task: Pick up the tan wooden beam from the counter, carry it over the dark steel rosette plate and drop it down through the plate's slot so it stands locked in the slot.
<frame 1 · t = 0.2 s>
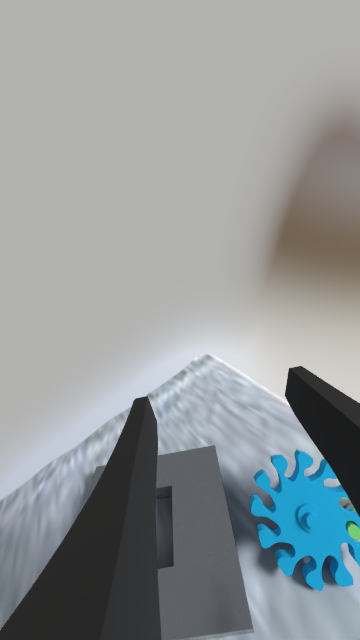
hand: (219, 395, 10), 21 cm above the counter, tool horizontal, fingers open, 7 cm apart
gear: (309, 528, 20), on the counter
rosette plate: (157, 532, 22), on the counter
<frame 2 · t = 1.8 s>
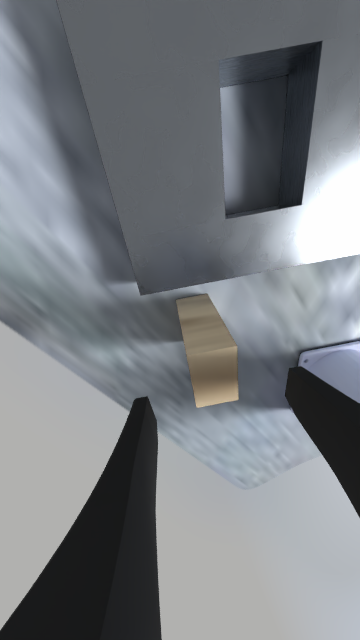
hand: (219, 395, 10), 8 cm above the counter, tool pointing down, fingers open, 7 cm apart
tan wooden beam: (194, 318, 17), on the counter
rosette plate: (246, 155, 12), on the counter
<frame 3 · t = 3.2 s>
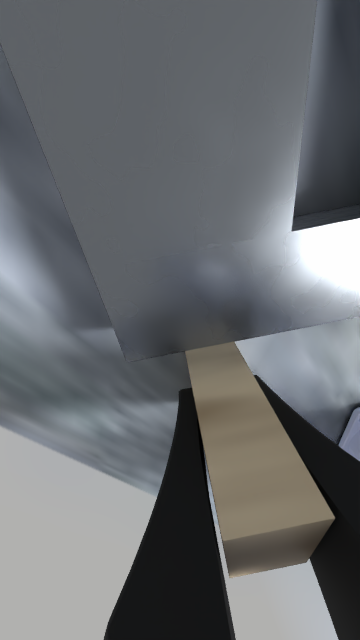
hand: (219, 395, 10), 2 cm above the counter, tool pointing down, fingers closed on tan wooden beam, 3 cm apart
tan wooden beam: (211, 372, 12), on the counter, touching gripper
rosette plate: (324, 108, 6), on the counter
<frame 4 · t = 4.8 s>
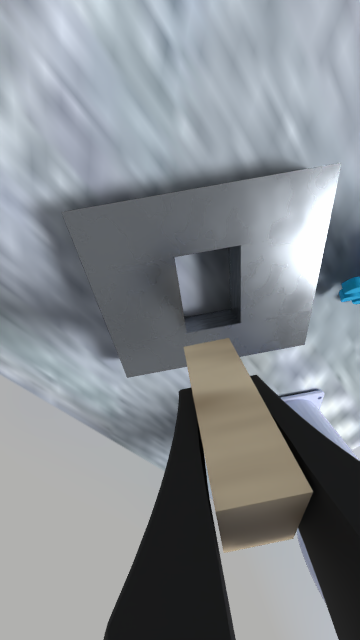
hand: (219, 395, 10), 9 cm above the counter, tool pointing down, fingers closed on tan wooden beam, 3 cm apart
tan wooden beam: (209, 369, 12), point 7 cm above the counter, touching gripper
rosette plate: (204, 282, 17), on the counter
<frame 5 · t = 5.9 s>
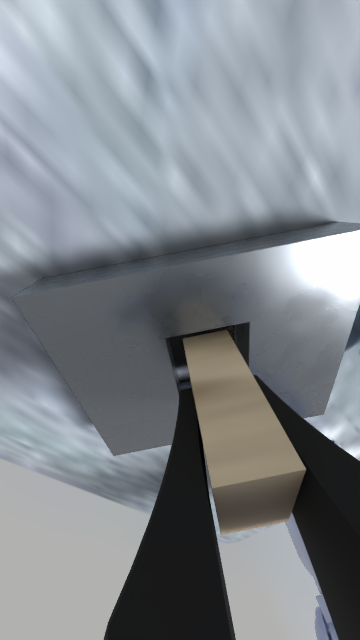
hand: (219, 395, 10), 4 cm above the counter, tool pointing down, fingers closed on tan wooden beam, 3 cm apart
tan wooden beam: (208, 361, 12), point 2 cm above the counter, touching gripper
rosette plate: (203, 346, 14), on the counter
when the fingers open (3 cm above the counter, at t = 6.8 s): tan wooden beam stays where it is, resting in rosette plate.
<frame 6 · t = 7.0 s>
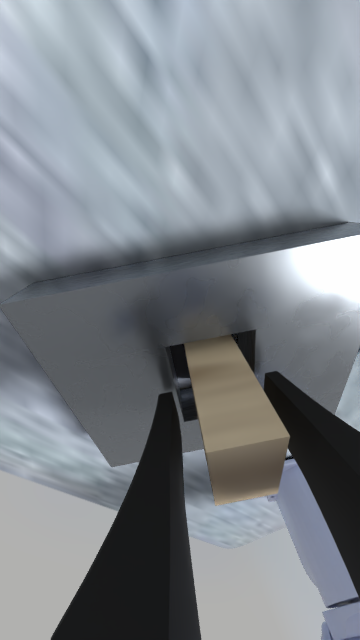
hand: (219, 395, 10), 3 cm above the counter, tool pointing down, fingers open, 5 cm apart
tan wooden beam: (205, 351, 13), resting in rosette plate
rosette plate: (205, 353, 13), on the counter
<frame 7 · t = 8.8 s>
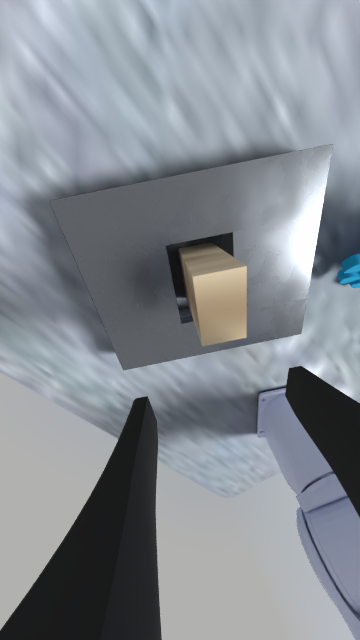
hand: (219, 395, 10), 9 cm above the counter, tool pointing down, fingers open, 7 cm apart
tan wooden beam: (197, 271, 16), resting in rosette plate
rosette plate: (198, 272, 16), on the counter
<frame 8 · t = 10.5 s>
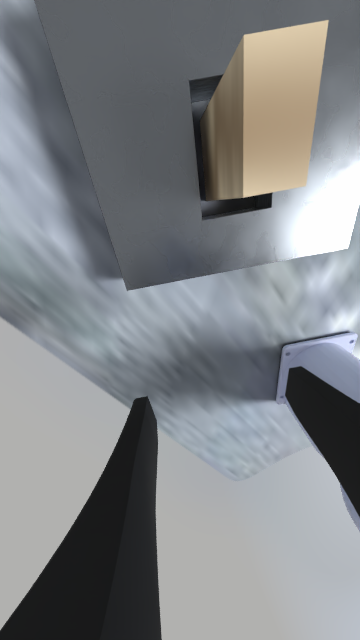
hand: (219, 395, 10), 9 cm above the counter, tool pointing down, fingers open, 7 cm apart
tan wooden beam: (222, 160, 13), resting in rosette plate
rosette plate: (222, 161, 13), on the counter
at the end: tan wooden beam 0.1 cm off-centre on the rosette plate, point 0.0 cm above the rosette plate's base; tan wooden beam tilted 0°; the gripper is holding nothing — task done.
